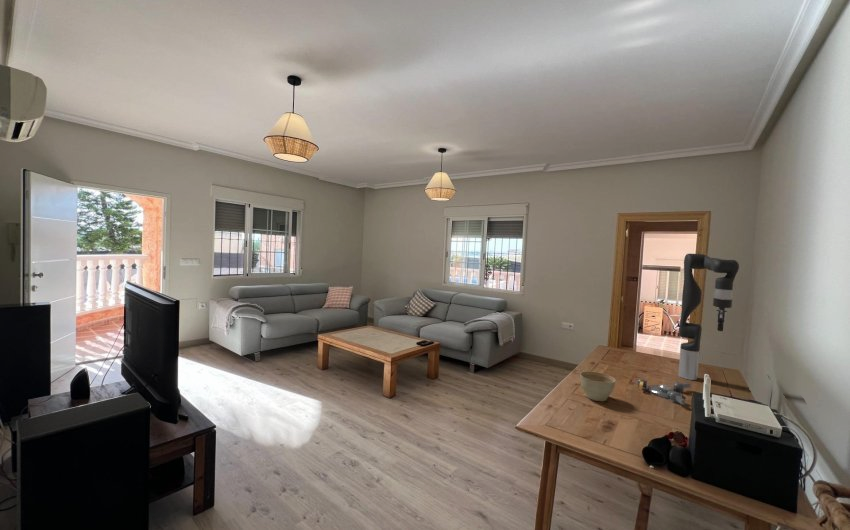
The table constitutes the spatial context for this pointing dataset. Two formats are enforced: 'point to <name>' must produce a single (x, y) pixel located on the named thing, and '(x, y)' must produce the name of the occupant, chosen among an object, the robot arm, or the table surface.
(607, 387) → the planter bowl
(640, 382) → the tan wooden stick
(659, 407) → the table surface
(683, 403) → the knob
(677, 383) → the grey bar with ball
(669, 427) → the table surface
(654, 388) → the base
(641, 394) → the table surface
